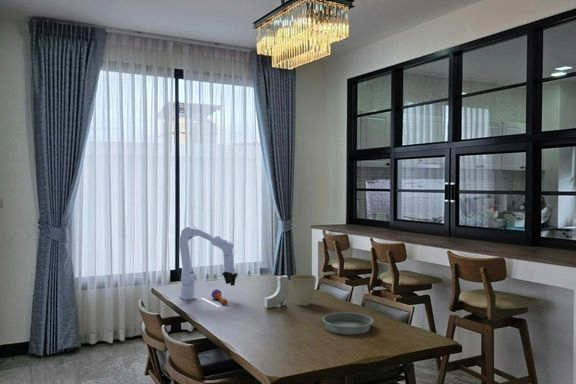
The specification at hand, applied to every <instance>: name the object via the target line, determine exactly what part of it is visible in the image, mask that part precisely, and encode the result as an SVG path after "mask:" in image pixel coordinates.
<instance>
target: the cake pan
mask: <svg viewBox="0 0 576 384" xmlns="http://www.w3.org/2000/svg"><path fill="white" fill-rule="evenodd" d="M321 320H322V321H323V323H324V326H325V329H326V330H327V331H329V332H332V333H335V334H340V335H341V334H342V335H360V334H364V333H367V332H369V331H370V330H371V325H373V323H374V319H373V318H372V317H371V316H369V315H366V314H362V313H358V312H333V313H332V312H331V313H329V314H326V315H324V316H323V317H322V319H321Z"/></svg>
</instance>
